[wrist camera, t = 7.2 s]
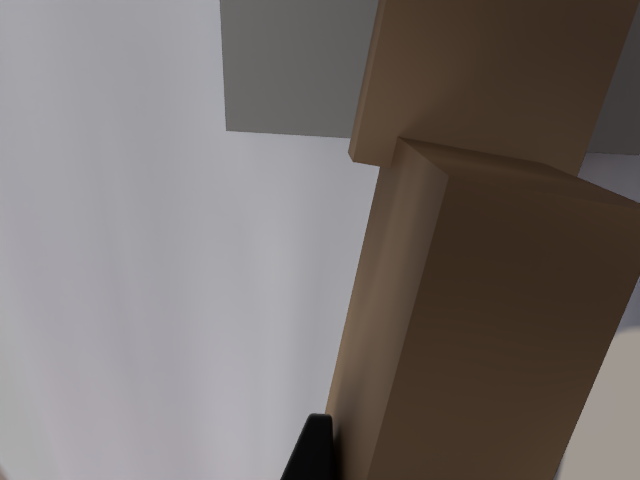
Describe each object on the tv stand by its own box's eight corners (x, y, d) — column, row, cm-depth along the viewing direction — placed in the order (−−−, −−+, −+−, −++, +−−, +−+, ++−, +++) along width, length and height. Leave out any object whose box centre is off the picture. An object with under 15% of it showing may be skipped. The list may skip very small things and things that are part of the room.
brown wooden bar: (379, 680, 13) (407, 891, 10) (243, 670, 13) (223, 886, 10) (658, -144, 7) (965, -316, 4) (419, -203, 7) (535, -451, 4)
